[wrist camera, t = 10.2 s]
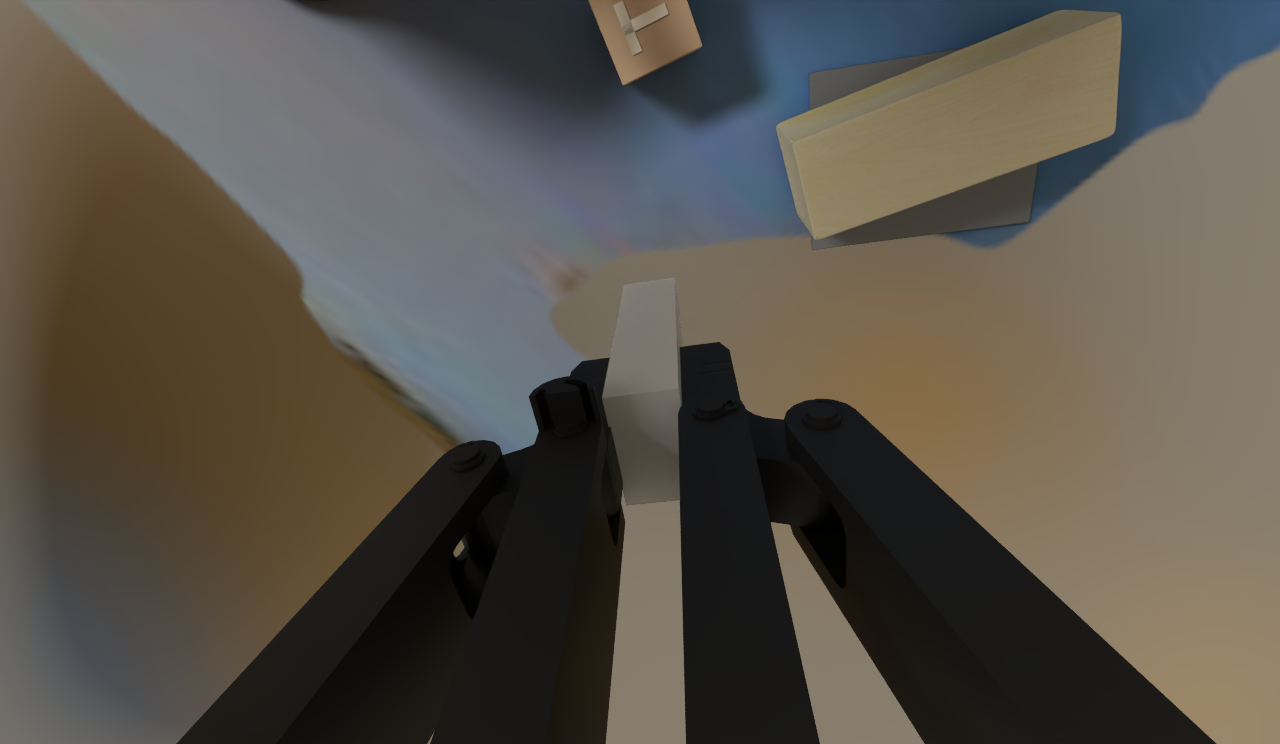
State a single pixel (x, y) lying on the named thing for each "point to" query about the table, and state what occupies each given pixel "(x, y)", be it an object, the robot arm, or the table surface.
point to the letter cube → (645, 34)
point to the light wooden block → (955, 121)
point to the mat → (949, 213)
